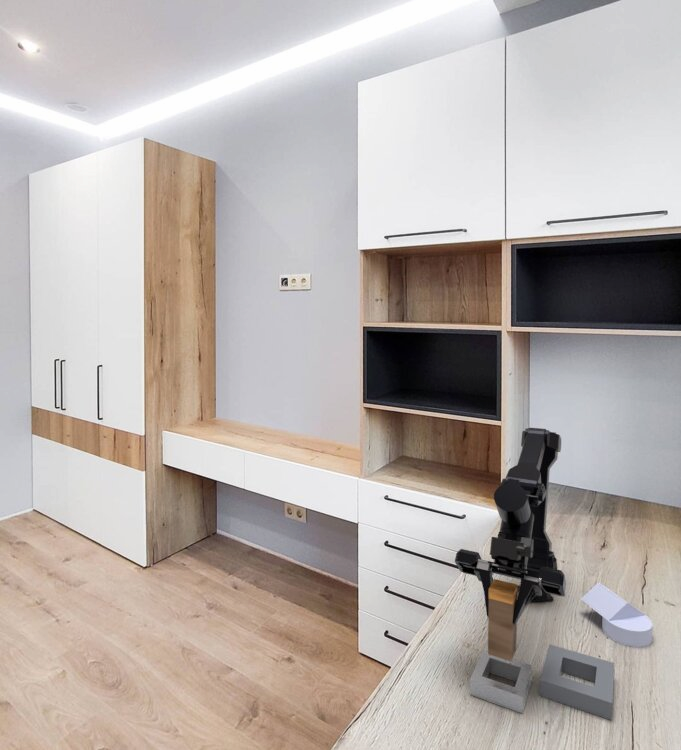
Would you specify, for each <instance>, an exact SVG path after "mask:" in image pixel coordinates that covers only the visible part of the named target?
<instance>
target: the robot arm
mask: <svg viewBox="0 0 681 750" xmlns="http://www.w3.org/2000/svg"><path fill="white" fill-rule="evenodd" d="M520 442H521V443H520V447H522V448H521V452H520V455H519V458H518V461H517V465H516V464H515V466H513V467H510V468H509V469H508V471H507V474H506V476H505V478H502V481H501V482H500V484H499V486H498V488H496V490H495V491H494V492H493V501H494V503H495V506H496V509H497V512H498V515H499V517H500V519H501V521H500V527H499V532H498V534H497V536H491V539H490V549H489V555H490V557H491V559H492V560H493V561H490V560H485V559H482V557H481V555H480V553H479V552H477V551H474V550H468V549H464V548H461V549H459V550H458V551H457V552H456V554H455V558H454V563H455V564H456V566H457V568H458V570H459V572H460V573H463V574H467V575H470V576H475V577H476V578H477V581H479V582H481V585H482V589H483V594H484V596H483V597H484V602H485V603H484V604H485V612H486V616H487V618H488V613H489V588H490V586H491V584H492V582H493V580H494V579H495V578H493V576H494V574H495V575H500V576H503V577H509V578H513V579H517V580H520V584H519V585H518V590H517V592H518V594H517V602H516V606H515V610H514V615H513V624H514V625H516V623H517V624H518V621H519V620H520V618H521V616H522V615H523V613H524V611H525V609H526V608H527V606H528V605H529V604H530V603H532V602H533V603H535V602H536V603H537V602H550V601H554V599H555V598H554V597H553V596H559V597H566V589H567V582H566V575H565V573H564V572H563V571H562V569H561V570H560V569H558V559H557V558H556V556H555V551H552V549H553V547H552V546H553V543H552V540H551V539H550V537H549V535H548V533H547V530H546V527H547V516H548V515H547V514H548V501H549V485H550V484H549V483H550V472H551V471H550V469H551V468H552V466H553V465H554V464H555V463H556V462H557V460H558V455H559V453H561V450H562V437H561V435H560V434H557V432H554V431H550V430H548V429H547V428H540V427H539V428H538V427H528V428H527V427H526V428H525V430H523V431H522V432H521V441H520Z"/></svg>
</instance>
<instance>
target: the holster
mask: <svg viewBox="0 0 681 750" xmlns="http://www.w3.org/2000/svg"><path fill="white" fill-rule="evenodd" d="M489 674H492V675H496V676H499V677H501V678H505V679H508V680H510V681H513V682H515V686H511V685H509V684H506V683H504V682H500V681H497V680H494V679H492V678H488V677H489ZM469 679H470V680H469V696H473V697H476V698H479V699H481V700H484V701H486V702H490V703H492V704H495V705H497V706H500V707H502V708H506V709H508V710H511V711H514V712H517V713H519V714H523V713H524V710H525V706H526V703H527V699H528V695H529V693H530V689H531V685H532V682H533V664H530V663H526V662H522V661H520V660H516V659H514V658H513V659H512V662H511V661H508V660H505V659H501V658H498V657H495V656H492V655H489V654H488V650H486V649H485V650H484V649H483V650H482V652H481V654H480V657H479V658H478V661H477V663H476V665H475V668H474V670H473V672H472V674H471V676H470V678H469Z"/></svg>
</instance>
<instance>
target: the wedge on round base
mask: <svg viewBox="0 0 681 750" xmlns="http://www.w3.org/2000/svg"><path fill="white" fill-rule="evenodd" d="M580 600H581V601H582V602H583V603H585V604H586V605H587V606H589V607H590V608H591V609H593V611H595V612H596V613H597V614H599V615H600V616H601V617H602V618H601V619H602V620H601V624H602V625H601V629H602V631H603V633H604V634H605V635H606V637H608V638H609V639H610V640H612V641H615V642H617V643H618V644H621V645H624V646H628V647H632V648H633V647H635V648H645V647H648V646H649V645H651V644H652V642H653V628H654V627H653V625H654V623H653V621H652V620H651V618H649V616H647V615H646V613H643V612H642V611H640V610H639V609H638V608H637V607H635V606H633V605H632V604H631V603H629V602H628V601H627V600H625V599H624V598H623V597H621V596H619V595H618V594H616V593H615V592H614V591H612V590H611V589H609V588H608V587H606V586H605V585H603V584H602V583H601V582H597V583H596V584H595V585H594V586H593V587H592V588H591V589H589V590H588V592H586V593H585V594H584V595H583V596H582V597H581V598H580Z"/></svg>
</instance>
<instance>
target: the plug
mask: <svg viewBox="0 0 681 750" xmlns="http://www.w3.org/2000/svg"><path fill="white" fill-rule="evenodd" d="M493 579H494V580H493V582H492V584H491V586H490V588H489V613H488V617H487V618H488V627H487V628H488V629H487V631H488V632H487V634H488V635H487V651H488V654H489V655H492V656H495V657H498V658H501V659H505V660H508V661H511V662H512V659H514V655H515V653H516V650H517V627H518V626H517V625H518V622H517V623H516V625H514V624H513V615H514V610H515V606H516V602H517V598H518V586H519V584H516V583H513V582H509V581H504V580H500V579H496V578H493Z"/></svg>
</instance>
